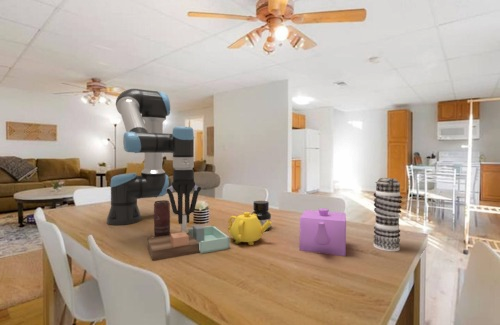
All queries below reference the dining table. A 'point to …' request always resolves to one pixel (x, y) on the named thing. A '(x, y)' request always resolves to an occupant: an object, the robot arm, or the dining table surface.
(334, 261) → the dining table surface
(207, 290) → the dining table surface
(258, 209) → the ink bottle
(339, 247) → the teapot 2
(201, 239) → the grey square block
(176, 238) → the terracotta tile
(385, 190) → the decorative candle
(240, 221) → the teapot
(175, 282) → the dining table surface
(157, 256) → the plate
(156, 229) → the can
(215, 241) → the tray
